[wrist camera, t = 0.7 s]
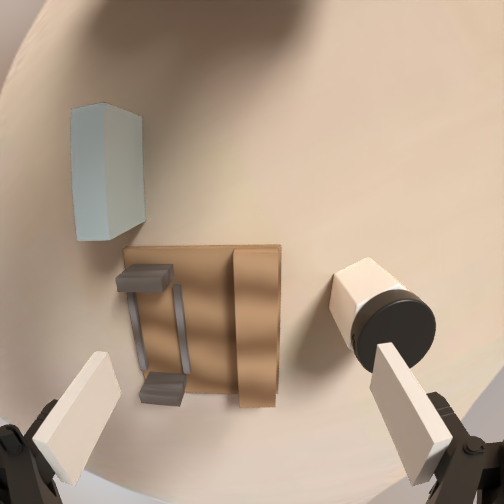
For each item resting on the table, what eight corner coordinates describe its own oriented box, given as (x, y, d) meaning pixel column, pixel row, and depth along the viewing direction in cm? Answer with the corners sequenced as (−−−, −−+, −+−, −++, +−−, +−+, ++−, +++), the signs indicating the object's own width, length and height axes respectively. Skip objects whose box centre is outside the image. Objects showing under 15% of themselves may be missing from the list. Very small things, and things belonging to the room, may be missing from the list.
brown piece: (126, 246, 36) (104, 261, 30) (280, 244, 36) (285, 260, 30) (149, 384, 42) (137, 411, 36) (277, 388, 41) (280, 418, 35)
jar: (313, 300, 38) (334, 354, 26) (354, 244, 36) (395, 279, 25) (365, 334, 39) (398, 389, 28) (405, 284, 37) (453, 326, 26)
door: (107, 121, 33) (62, 111, 23) (142, 116, 33) (104, 102, 23) (111, 222, 36) (68, 241, 26) (146, 220, 36) (109, 240, 26)
